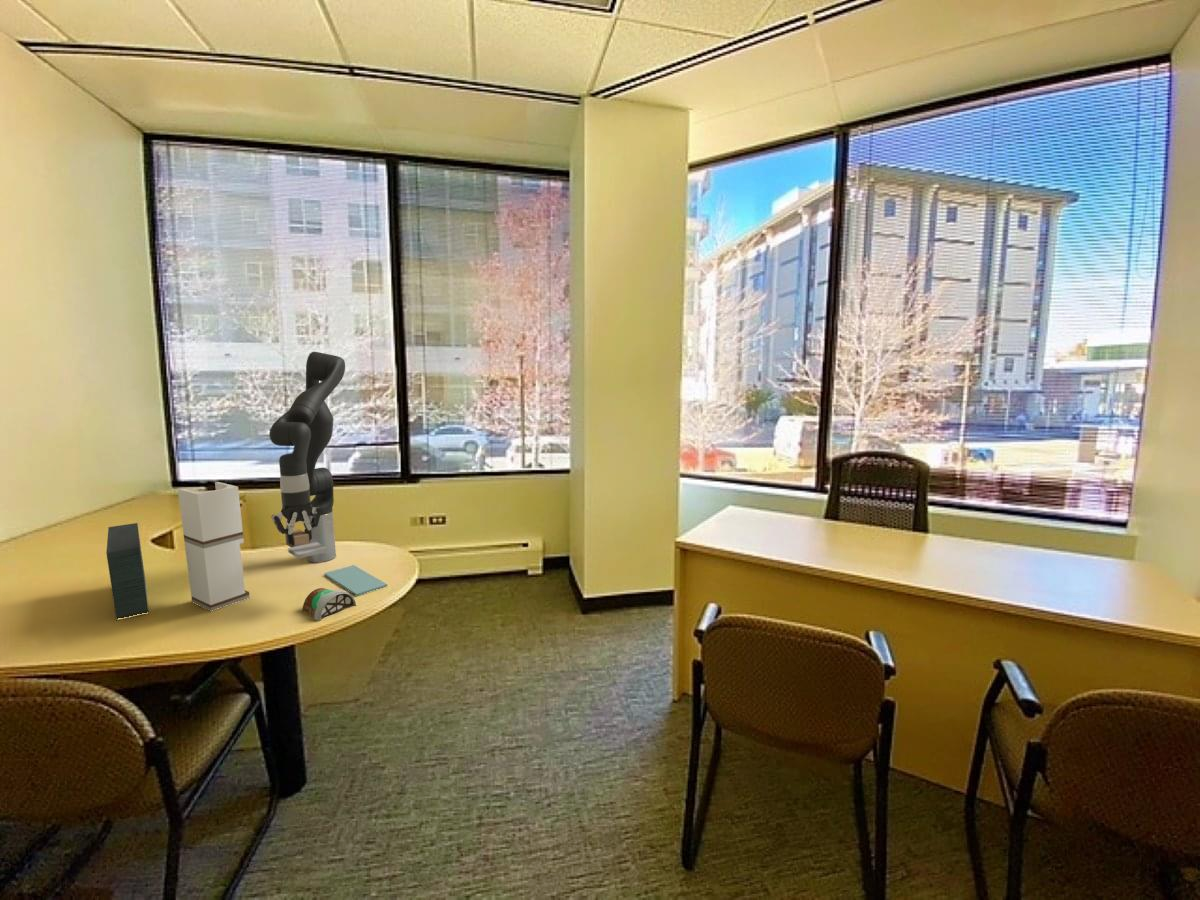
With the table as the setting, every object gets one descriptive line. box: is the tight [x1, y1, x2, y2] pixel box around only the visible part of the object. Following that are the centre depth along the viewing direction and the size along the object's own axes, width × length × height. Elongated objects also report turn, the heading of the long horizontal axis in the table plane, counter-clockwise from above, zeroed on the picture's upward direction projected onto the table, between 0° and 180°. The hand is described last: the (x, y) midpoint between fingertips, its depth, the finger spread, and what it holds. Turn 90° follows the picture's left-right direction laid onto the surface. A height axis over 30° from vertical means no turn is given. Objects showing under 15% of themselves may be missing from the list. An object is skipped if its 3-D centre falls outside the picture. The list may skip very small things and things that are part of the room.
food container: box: [302, 587, 357, 621], centre depth 162 cm, size 12×6×10 cm
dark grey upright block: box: [105, 522, 149, 619], centre depth 166 cm, size 29×7×20 cm, turn 40°
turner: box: [284, 529, 327, 560], centre depth 167 cm, size 16×8×4 cm, turn 47°
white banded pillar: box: [177, 481, 251, 612], centre depth 165 cm, size 11×11×35 cm
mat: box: [324, 564, 388, 597], centre depth 182 cm, size 24×10×1 cm, turn 48°
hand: (299, 543), depth 168 cm, fingers closed on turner, 4 cm apart
